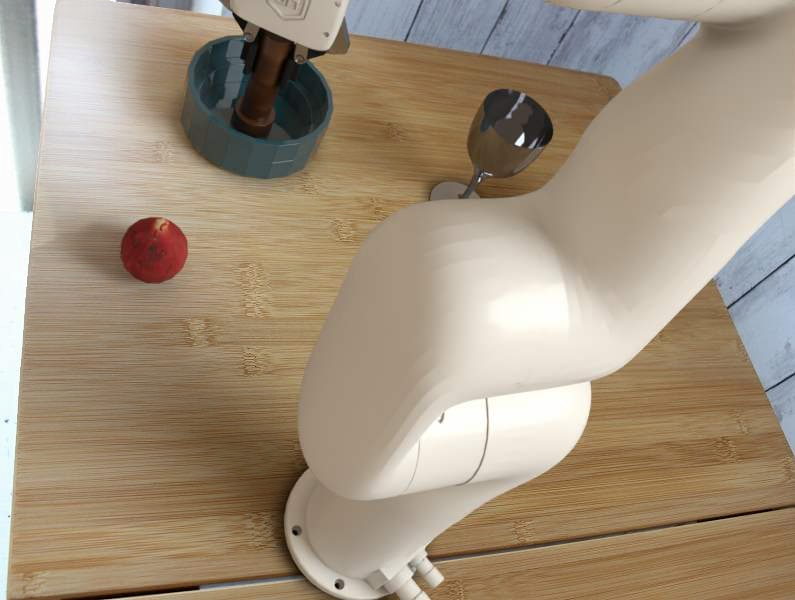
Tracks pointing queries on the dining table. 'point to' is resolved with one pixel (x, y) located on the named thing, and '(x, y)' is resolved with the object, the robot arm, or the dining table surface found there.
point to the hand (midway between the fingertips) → (267, 72)
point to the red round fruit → (154, 250)
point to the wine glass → (501, 141)
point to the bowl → (214, 103)
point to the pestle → (262, 86)
